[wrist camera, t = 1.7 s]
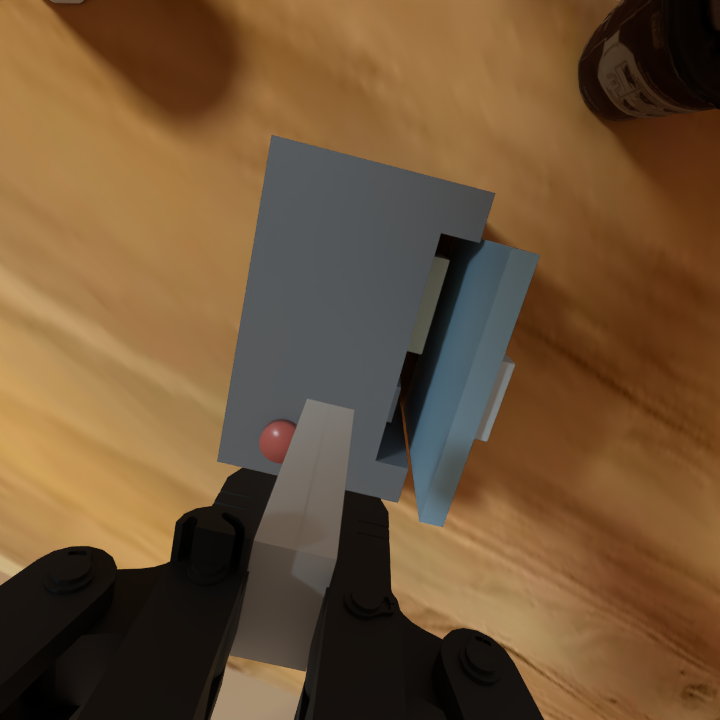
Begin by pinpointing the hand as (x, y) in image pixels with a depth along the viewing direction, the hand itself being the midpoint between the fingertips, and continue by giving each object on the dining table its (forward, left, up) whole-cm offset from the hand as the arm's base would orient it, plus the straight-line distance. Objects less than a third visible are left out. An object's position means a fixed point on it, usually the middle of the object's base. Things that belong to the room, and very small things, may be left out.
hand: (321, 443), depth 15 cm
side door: (+2, +6, -20) cm, 21 cm away
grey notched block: (0, 0, -21) cm, 21 cm away
